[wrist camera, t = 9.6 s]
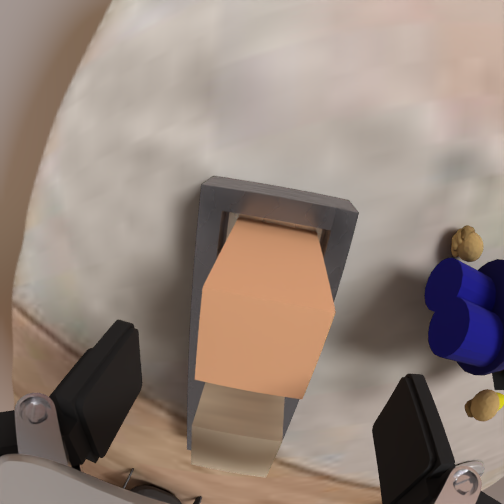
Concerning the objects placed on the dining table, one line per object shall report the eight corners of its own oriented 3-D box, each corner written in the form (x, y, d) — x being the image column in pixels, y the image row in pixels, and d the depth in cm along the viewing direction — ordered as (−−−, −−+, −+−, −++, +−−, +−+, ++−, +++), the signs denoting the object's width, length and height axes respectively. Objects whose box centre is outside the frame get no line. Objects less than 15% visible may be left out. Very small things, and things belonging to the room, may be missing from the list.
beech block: (274, 386, 22) (265, 477, 15) (216, 376, 23) (191, 464, 15) (286, 342, 21) (282, 441, 13) (221, 331, 21) (191, 425, 14)
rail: (273, 442, 27) (271, 464, 25) (193, 428, 28) (187, 449, 25) (349, 200, 18) (358, 212, 15) (213, 175, 18) (201, 184, 16)
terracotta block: (299, 299, 19) (302, 399, 12) (227, 286, 19) (194, 379, 12) (316, 232, 17) (335, 312, 10) (238, 217, 18) (202, 287, 10)
